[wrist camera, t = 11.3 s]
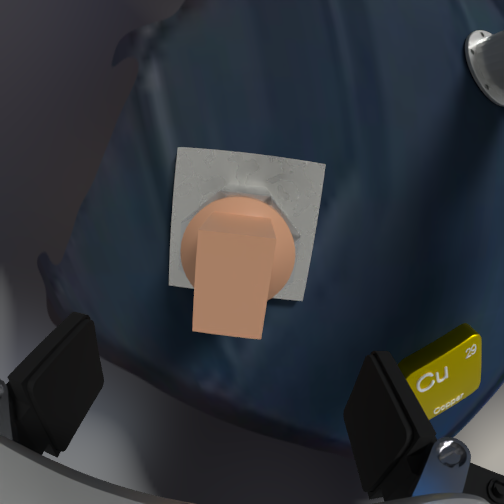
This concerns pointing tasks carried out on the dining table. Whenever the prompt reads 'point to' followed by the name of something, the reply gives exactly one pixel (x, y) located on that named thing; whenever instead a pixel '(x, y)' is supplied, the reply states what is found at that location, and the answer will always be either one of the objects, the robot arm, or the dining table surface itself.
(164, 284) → the dining table surface
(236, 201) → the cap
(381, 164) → the dining table surface
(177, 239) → the hex socket plate
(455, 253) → the dining table surface
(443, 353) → the element tile
